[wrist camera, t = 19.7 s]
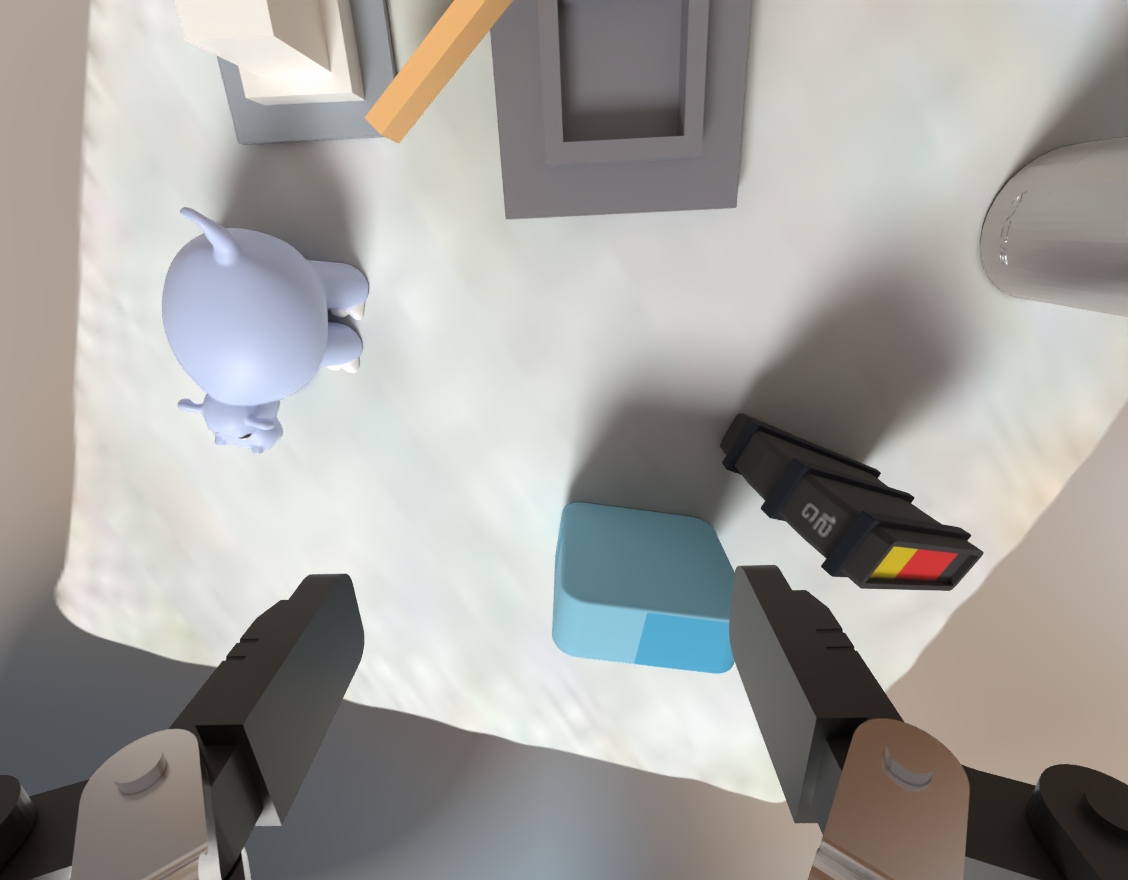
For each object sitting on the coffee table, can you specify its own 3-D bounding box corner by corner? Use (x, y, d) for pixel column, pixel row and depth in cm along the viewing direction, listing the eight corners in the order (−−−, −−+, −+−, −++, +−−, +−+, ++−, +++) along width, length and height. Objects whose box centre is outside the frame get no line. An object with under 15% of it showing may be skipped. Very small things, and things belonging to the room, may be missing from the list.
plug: (345, -29, 29) (267, -116, 21) (365, 100, 31) (301, 61, 24) (236, -23, 29) (121, -108, 21) (264, 105, 31) (169, 68, 24)
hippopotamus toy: (207, 405, 39) (102, 458, 30) (208, 190, 33) (79, 178, 25) (352, 440, 40) (291, 501, 31) (376, 237, 34) (310, 242, 26)
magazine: (707, 397, 37) (895, 534, 25) (816, 430, 44) (1003, 549, 32) (681, 442, 38) (849, 593, 26) (791, 467, 45) (962, 595, 33)
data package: (555, 545, 43) (551, 656, 32) (563, 498, 42) (561, 598, 31) (696, 563, 44) (739, 678, 33) (710, 517, 42) (760, 622, 31)
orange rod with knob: (588, -83, 25) (590, -121, 22) (403, 147, 29) (385, 139, 26) (564, -115, 24) (564, -159, 22) (380, 123, 28) (359, 112, 25)
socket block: (746, -76, 28) (773, -123, 24) (727, 208, 34) (747, 206, 30) (487, -60, 29) (474, -103, 25) (509, 219, 34) (501, 218, 30)
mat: (374, -77, 28) (370, -83, 28) (404, 135, 32) (401, 134, 32) (192, -65, 29) (185, -71, 28) (244, 144, 32) (238, 143, 32)
